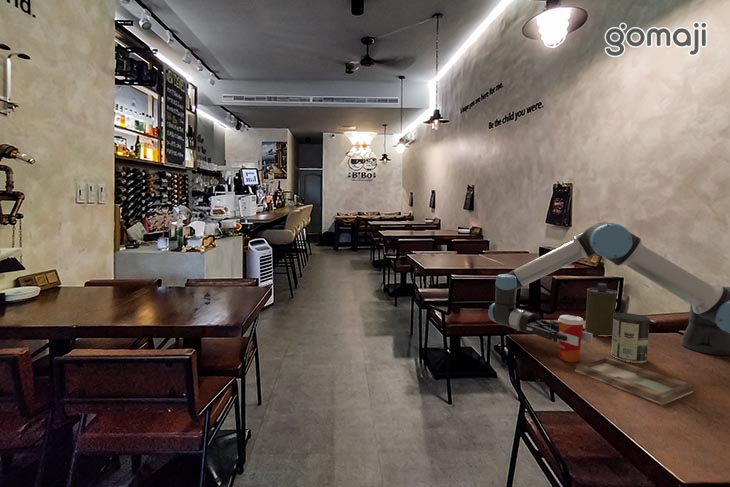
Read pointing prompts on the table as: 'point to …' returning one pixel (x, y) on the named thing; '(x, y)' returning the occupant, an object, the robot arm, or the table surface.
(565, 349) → the paper cup
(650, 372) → the keyhole slot
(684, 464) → the table surface
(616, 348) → the coffee can
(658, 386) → the seat pad
